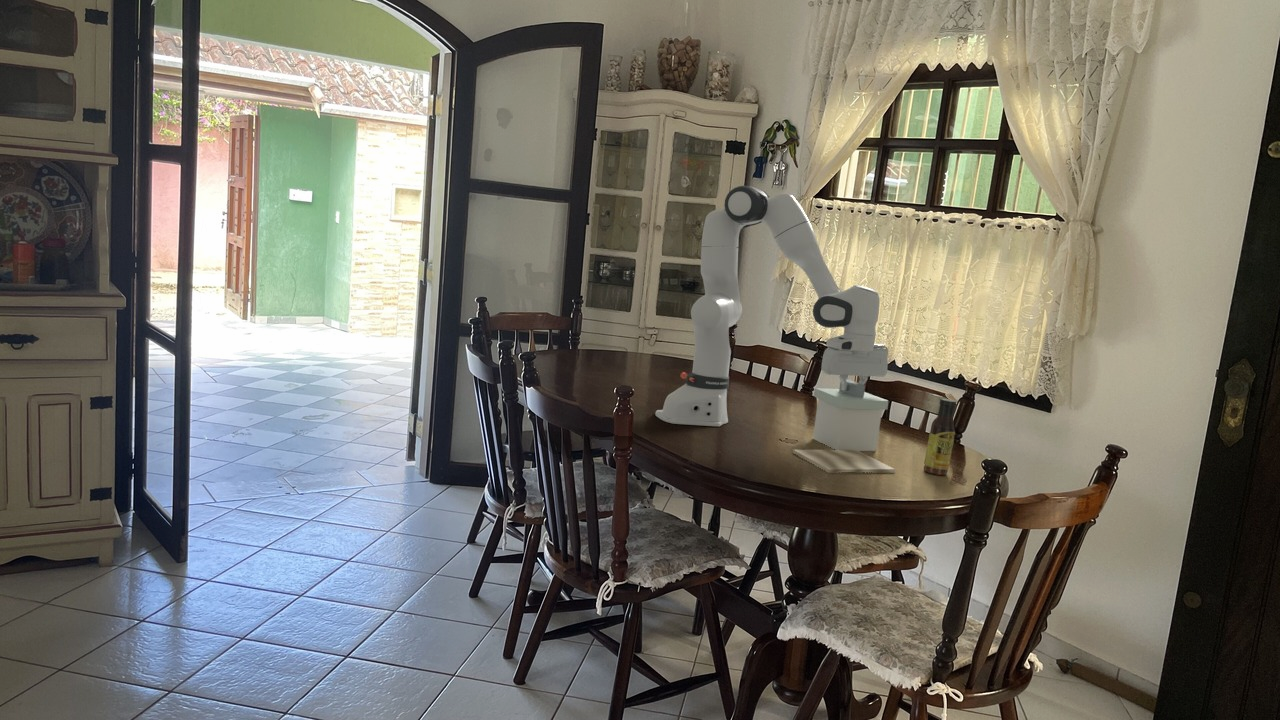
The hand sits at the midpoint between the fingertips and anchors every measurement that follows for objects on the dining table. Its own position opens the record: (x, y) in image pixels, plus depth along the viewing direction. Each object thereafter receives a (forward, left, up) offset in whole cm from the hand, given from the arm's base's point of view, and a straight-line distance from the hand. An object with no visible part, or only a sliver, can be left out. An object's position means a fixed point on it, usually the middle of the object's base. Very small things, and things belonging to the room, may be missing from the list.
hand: (851, 390), depth 244 cm
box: (0, 0, -16) cm, 16 cm away
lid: (0, 0, -4) cm, 4 cm away
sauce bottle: (+11, -27, -16) cm, 33 cm away
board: (-12, -18, -16) cm, 27 cm away
